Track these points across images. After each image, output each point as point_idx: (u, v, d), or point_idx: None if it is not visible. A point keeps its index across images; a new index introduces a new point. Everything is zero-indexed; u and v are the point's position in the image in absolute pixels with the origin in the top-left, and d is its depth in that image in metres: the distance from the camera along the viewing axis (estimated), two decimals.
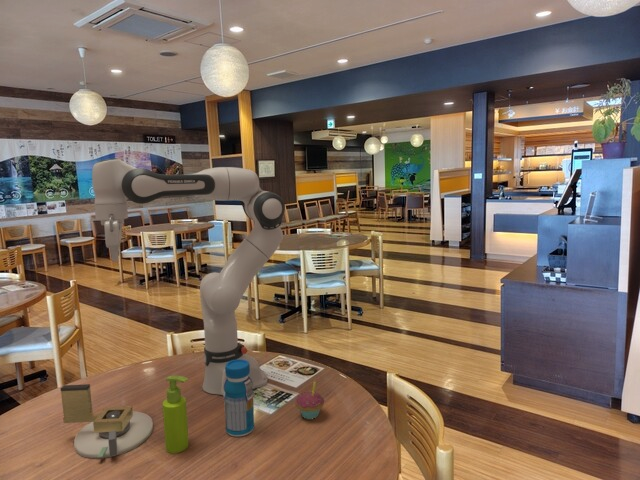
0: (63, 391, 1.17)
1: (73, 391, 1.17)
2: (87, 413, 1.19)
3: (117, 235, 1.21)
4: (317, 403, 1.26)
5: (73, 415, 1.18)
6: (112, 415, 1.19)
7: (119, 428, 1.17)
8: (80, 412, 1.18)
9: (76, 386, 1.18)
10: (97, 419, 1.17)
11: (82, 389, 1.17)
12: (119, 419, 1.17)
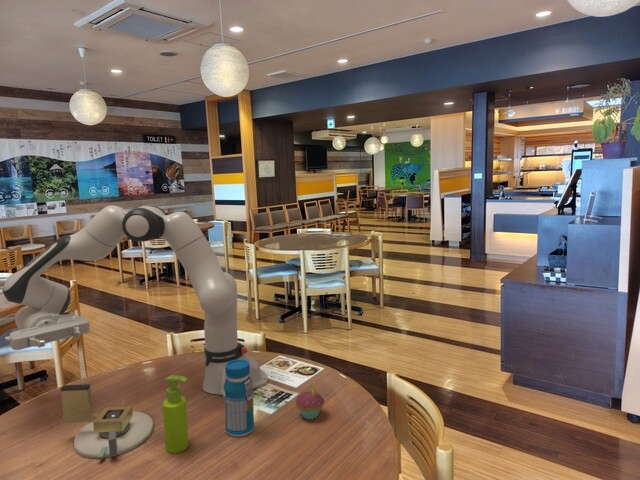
0: (63, 391, 1.17)
1: (73, 391, 1.17)
2: (87, 413, 1.19)
3: (10, 337, 1.19)
4: (317, 403, 1.26)
5: (73, 415, 1.18)
6: (112, 415, 1.19)
7: (119, 428, 1.17)
8: (80, 412, 1.18)
9: (76, 386, 1.18)
10: (97, 419, 1.17)
11: (82, 389, 1.17)
12: (119, 419, 1.17)
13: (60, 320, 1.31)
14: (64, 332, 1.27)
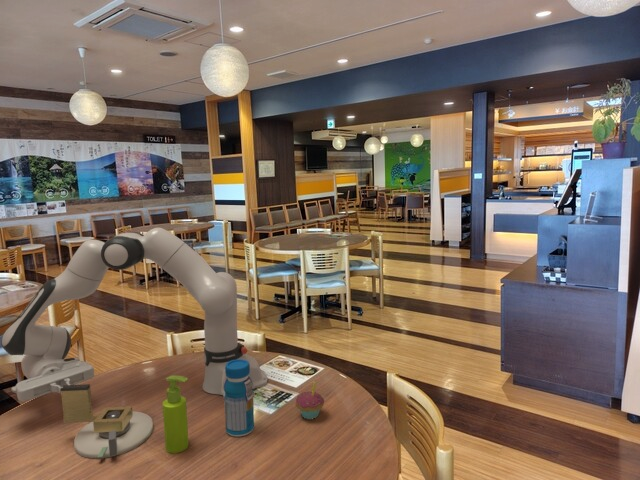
0: (63, 391, 1.17)
1: (73, 391, 1.17)
2: (87, 413, 1.19)
3: (16, 388, 1.22)
4: (317, 403, 1.26)
5: (73, 415, 1.18)
6: (112, 415, 1.19)
7: (119, 428, 1.17)
8: (80, 412, 1.18)
9: (76, 386, 1.18)
10: (97, 419, 1.17)
11: (82, 389, 1.17)
12: (119, 419, 1.17)
13: (65, 367, 1.33)
14: None
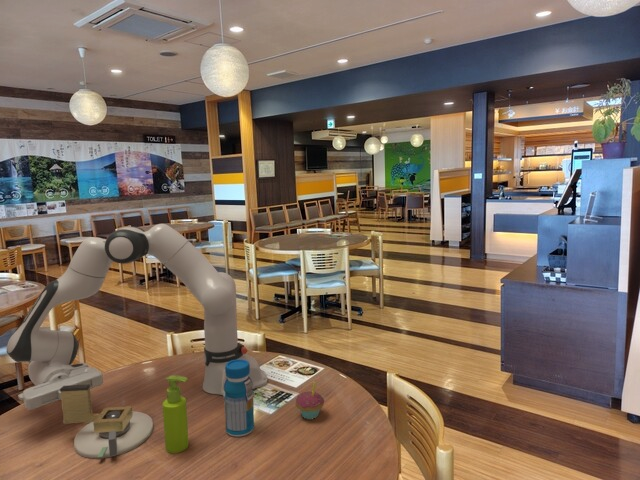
0: (63, 391, 1.17)
1: (73, 391, 1.17)
2: (87, 413, 1.18)
3: (23, 396, 1.18)
4: (317, 403, 1.26)
5: (73, 415, 1.18)
6: (112, 415, 1.19)
7: (119, 428, 1.17)
8: (80, 412, 1.18)
9: (76, 386, 1.18)
10: (97, 419, 1.17)
11: (82, 389, 1.17)
12: (119, 419, 1.17)
13: (73, 373, 1.30)
14: None
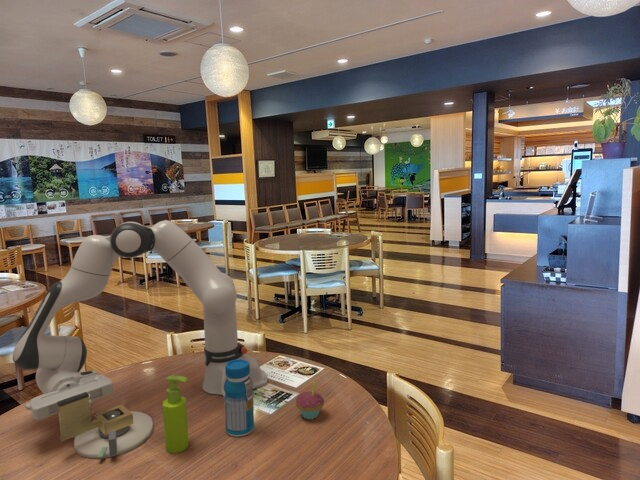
0: (62, 406, 1.09)
1: (73, 402, 1.11)
2: (88, 421, 1.14)
3: (30, 405, 1.13)
4: (317, 403, 1.26)
5: (73, 429, 1.12)
6: (112, 415, 1.19)
7: (130, 421, 1.20)
8: (81, 423, 1.13)
9: (74, 397, 1.12)
10: (104, 422, 1.16)
11: (83, 397, 1.13)
12: (127, 413, 1.20)
13: (83, 382, 1.24)
14: None
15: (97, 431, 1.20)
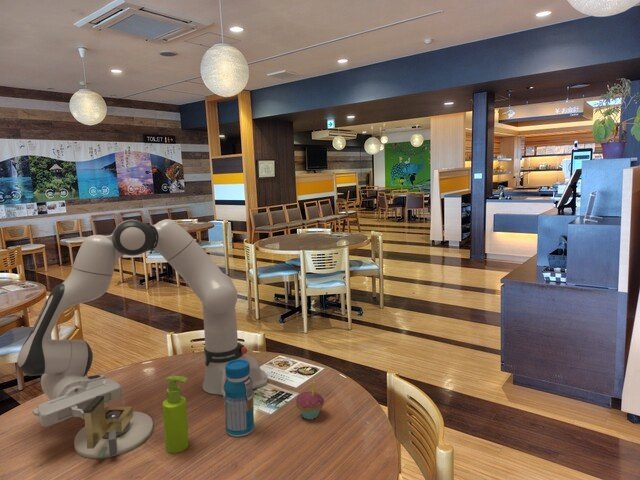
0: (92, 412, 1.07)
1: (96, 406, 1.09)
2: (104, 424, 1.13)
3: (39, 411, 1.10)
4: (317, 403, 1.26)
5: (98, 434, 1.10)
6: (112, 415, 1.19)
7: (131, 415, 1.23)
8: (101, 426, 1.11)
9: (94, 401, 1.10)
10: (116, 420, 1.17)
11: (101, 400, 1.12)
12: (127, 408, 1.23)
13: (90, 386, 1.21)
14: None
15: None
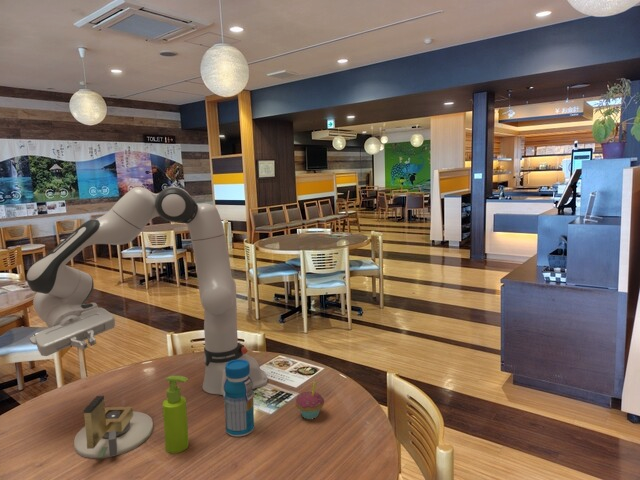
0: (92, 412, 1.07)
1: (96, 406, 1.09)
2: (104, 424, 1.13)
3: (36, 342, 1.15)
4: (317, 403, 1.26)
5: (98, 434, 1.10)
6: (112, 415, 1.19)
7: (131, 415, 1.23)
8: (101, 426, 1.11)
9: (95, 401, 1.10)
10: (116, 420, 1.17)
11: (101, 400, 1.12)
12: (127, 408, 1.23)
13: (84, 315, 1.26)
14: None
15: None
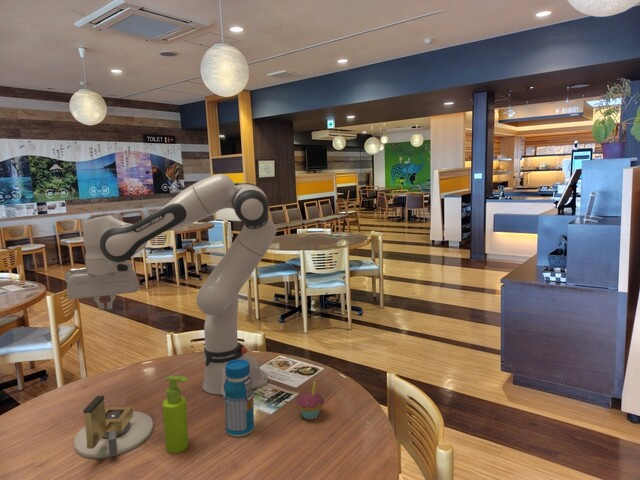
0: (92, 412, 1.07)
1: (96, 406, 1.09)
2: (104, 424, 1.13)
3: (67, 288, 1.29)
4: (317, 403, 1.26)
5: (98, 434, 1.10)
6: (112, 415, 1.19)
7: (131, 415, 1.23)
8: (101, 426, 1.11)
9: (95, 401, 1.10)
10: (116, 420, 1.17)
11: (101, 400, 1.12)
12: (127, 408, 1.23)
13: (116, 276, 1.34)
14: None
15: None
